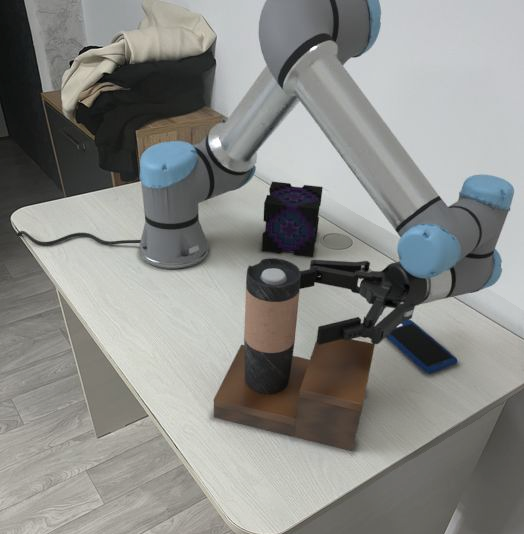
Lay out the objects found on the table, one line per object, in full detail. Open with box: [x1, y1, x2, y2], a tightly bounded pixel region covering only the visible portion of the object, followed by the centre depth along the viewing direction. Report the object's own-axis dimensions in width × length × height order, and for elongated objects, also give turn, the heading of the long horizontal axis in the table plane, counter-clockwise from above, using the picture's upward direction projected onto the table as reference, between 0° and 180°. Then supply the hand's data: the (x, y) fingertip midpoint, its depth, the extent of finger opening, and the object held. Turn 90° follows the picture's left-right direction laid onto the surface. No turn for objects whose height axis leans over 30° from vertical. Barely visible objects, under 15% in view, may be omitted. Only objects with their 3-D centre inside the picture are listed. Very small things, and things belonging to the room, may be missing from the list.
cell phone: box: [385, 319, 458, 374], centre depth 100 cm, size 7×14×1 cm, turn 28°
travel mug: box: [243, 257, 301, 394], centre depth 80 cm, size 8×8×20 cm
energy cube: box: [261, 181, 324, 258], centre depth 126 cm, size 12×12×12 cm
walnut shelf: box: [213, 338, 376, 452], centre depth 85 cm, size 22×14×10 cm, turn 74°
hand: (296, 309), depth 80 cm, fingers open, 13 cm apart
